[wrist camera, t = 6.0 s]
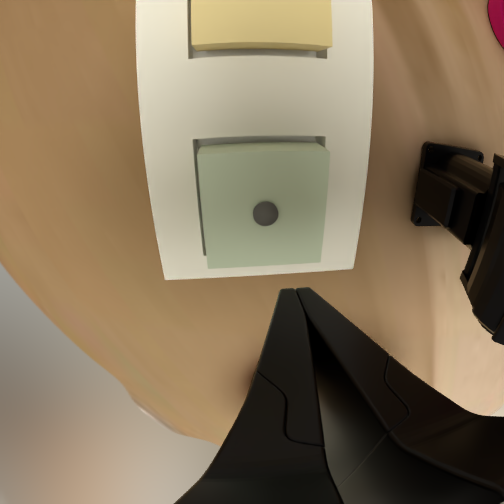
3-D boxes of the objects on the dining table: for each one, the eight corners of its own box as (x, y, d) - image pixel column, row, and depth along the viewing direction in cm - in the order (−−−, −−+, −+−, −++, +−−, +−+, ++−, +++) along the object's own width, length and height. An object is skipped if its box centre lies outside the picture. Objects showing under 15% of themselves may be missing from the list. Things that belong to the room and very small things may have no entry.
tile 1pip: (316, 142, 15) (331, 152, 13) (310, 241, 18) (321, 264, 16) (201, 145, 15) (196, 155, 13) (209, 247, 18) (207, 270, 16)
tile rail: (331, -132, 5) (342, -149, 3) (338, 245, 22) (352, 268, 19) (163, -135, 5) (157, -154, 2) (172, 254, 21) (165, 279, 18)
